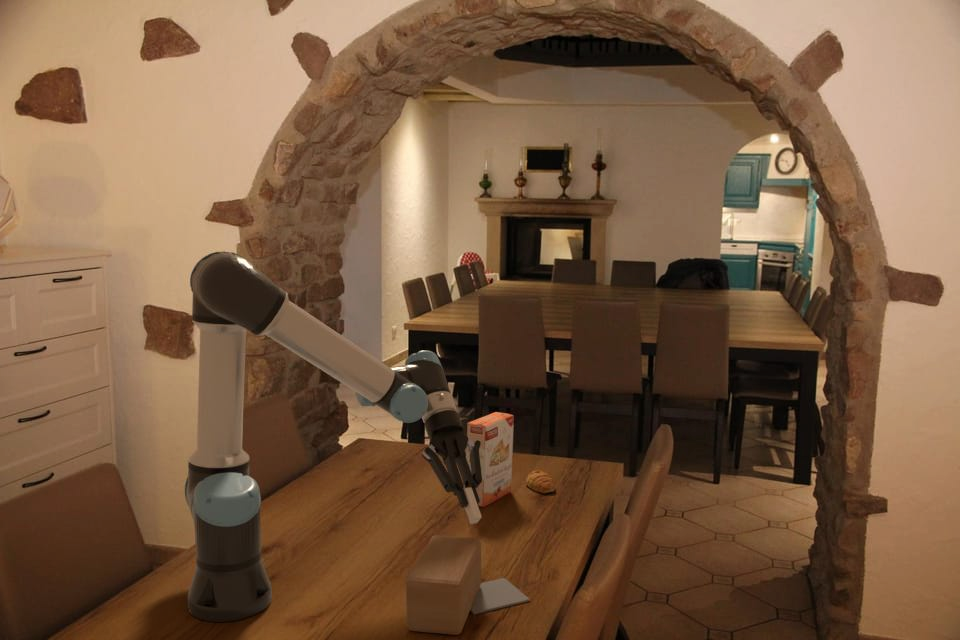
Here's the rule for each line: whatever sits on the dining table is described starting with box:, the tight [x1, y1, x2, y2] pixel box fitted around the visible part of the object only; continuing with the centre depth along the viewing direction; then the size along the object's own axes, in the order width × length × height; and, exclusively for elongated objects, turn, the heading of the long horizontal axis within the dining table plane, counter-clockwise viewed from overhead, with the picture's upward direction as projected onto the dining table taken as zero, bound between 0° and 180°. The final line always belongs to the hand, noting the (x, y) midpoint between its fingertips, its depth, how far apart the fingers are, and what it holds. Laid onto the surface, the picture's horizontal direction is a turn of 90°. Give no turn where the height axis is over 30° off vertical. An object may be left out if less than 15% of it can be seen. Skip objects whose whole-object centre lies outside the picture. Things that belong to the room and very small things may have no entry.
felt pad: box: [469, 577, 531, 615], centre depth 163 cm, size 12×10×1 cm
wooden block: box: [405, 534, 483, 636], centre depth 158 cm, size 10×10×20 cm
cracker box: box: [466, 411, 515, 508], centre depth 215 cm, size 14×6×21 cm, turn 148°
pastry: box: [525, 470, 556, 494], centre depth 224 cm, size 9×7×4 cm
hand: (476, 520), depth 167 cm, fingers closed
